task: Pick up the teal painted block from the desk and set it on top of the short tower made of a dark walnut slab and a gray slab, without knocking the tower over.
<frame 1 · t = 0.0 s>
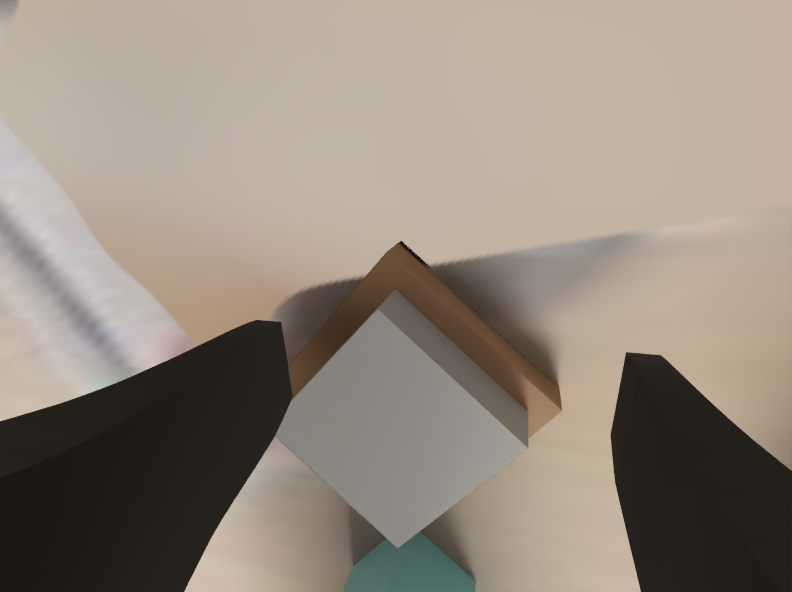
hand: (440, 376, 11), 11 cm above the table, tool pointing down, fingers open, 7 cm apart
gray slab: (403, 404, 21), point 2 cm above the table, touching walnut slab
walnut slab: (412, 378, 23), on the table, touching gray slab
teal block: (413, 572, 26), on the table
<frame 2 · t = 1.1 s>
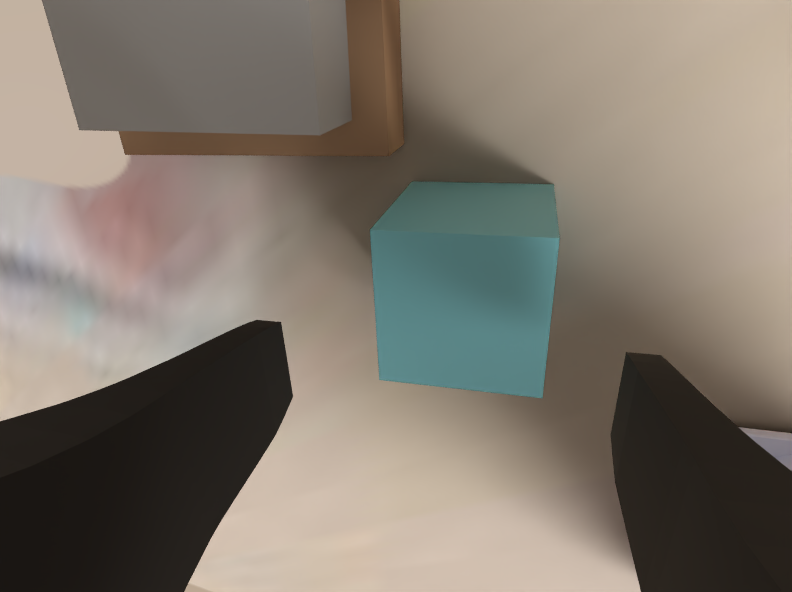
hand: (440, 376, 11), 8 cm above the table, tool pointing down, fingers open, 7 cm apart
teal block: (478, 247, 18), on the table
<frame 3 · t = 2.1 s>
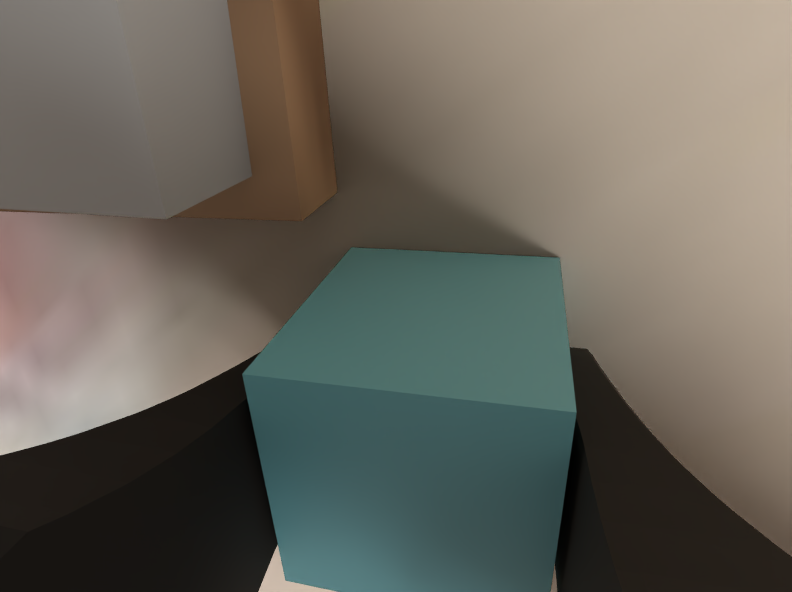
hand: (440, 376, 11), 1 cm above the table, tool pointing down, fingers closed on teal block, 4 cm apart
teal block: (450, 341, 12), on the table, touching gripper
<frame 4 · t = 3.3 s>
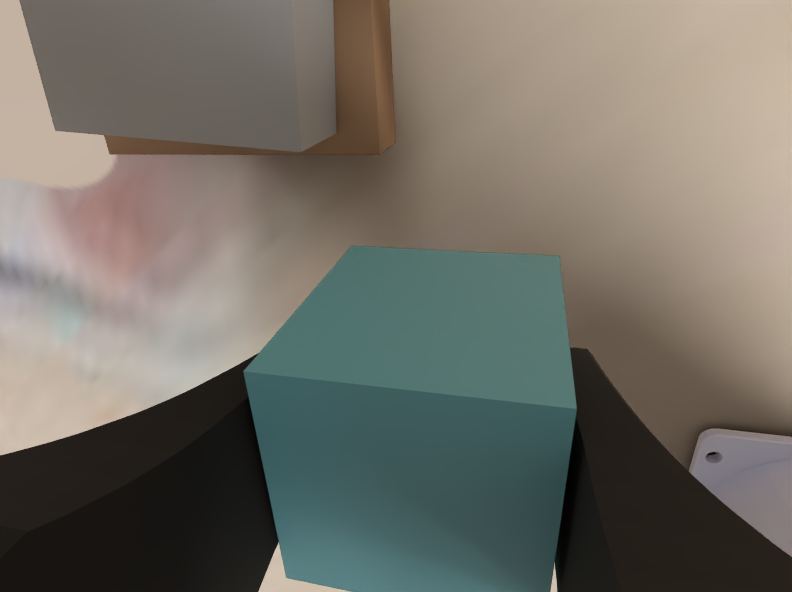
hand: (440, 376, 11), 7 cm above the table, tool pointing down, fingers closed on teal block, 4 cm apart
teal block: (450, 339, 12), point 6 cm above the table, touching gripper
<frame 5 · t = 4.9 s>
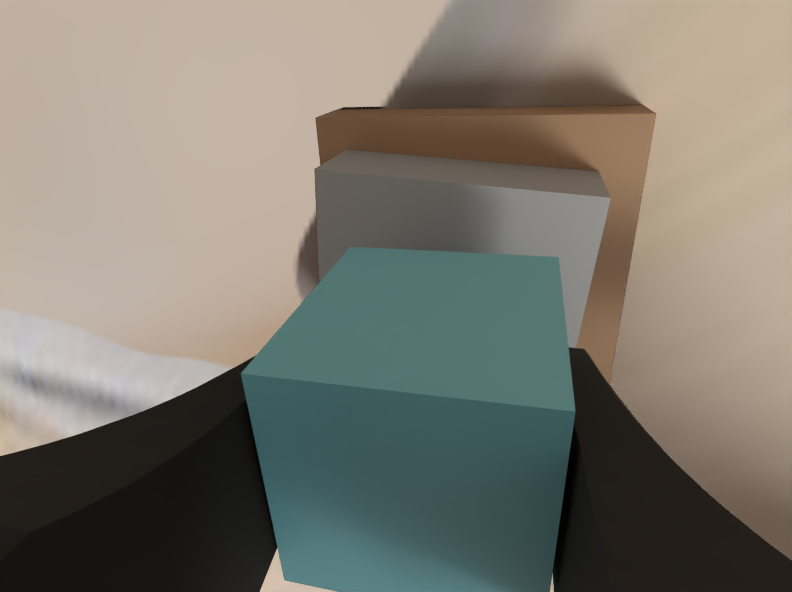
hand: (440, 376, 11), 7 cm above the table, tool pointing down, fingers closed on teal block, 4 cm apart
gray slab: (455, 274, 16), point 2 cm above the table, touching walnut slab
walnut slab: (477, 241, 18), on the table, touching gray slab
teal block: (449, 340, 12), point 6 cm above the table, touching gripper
when the fingers open (7 cm above the table, at t = 5.0 s): teal block drops 2 cm, resting on gray slab.
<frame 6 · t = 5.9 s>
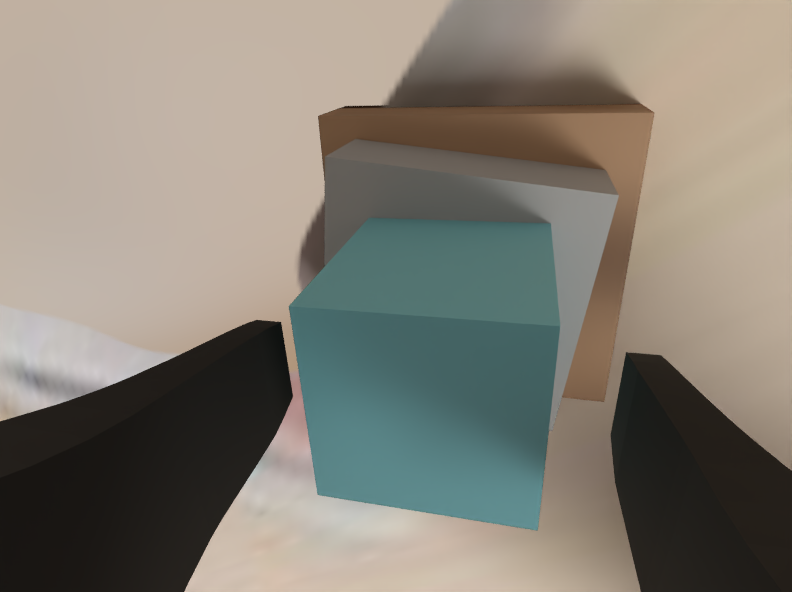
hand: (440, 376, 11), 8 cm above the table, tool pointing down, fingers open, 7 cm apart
gray slab: (459, 267, 16), point 2 cm above the table, touching teal block, walnut slab
walnut slab: (477, 239, 18), on the table, touching gray slab
teal block: (455, 301, 14), point 4 cm above the table, touching gray slab
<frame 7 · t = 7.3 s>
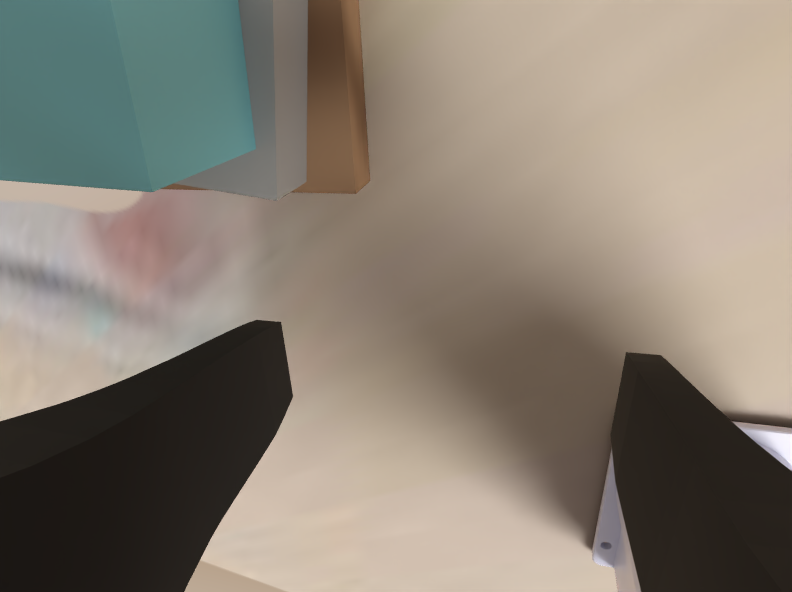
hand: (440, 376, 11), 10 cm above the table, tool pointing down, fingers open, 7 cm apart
gray slab: (212, 67, 18), point 2 cm above the table, touching teal block
walnut slab: (255, 58, 20), on the table
teal block: (178, 69, 16), point 4 cm above the table, touching gray slab
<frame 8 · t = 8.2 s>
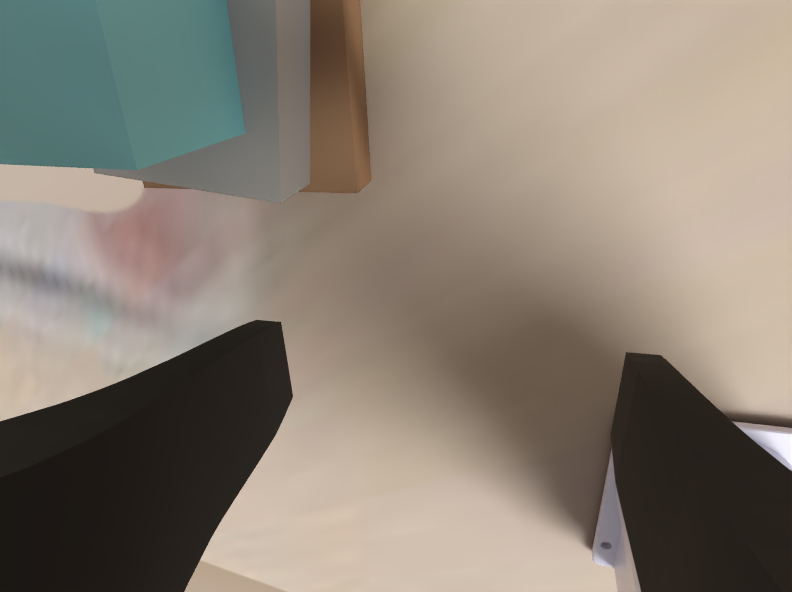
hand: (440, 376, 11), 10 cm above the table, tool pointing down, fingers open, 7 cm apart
gray slab: (215, 70, 18), point 2 cm above the table, touching teal block, walnut slab
walnut slab: (256, 58, 20), on the table, touching gray slab
teal block: (166, 53, 15), point 4 cm above the table, touching gray slab
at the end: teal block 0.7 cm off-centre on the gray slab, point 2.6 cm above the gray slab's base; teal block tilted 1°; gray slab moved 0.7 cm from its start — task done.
